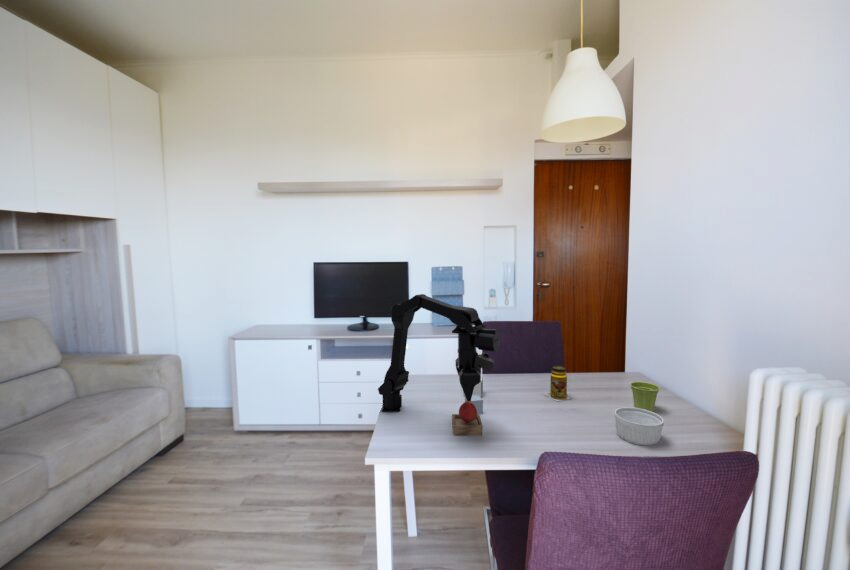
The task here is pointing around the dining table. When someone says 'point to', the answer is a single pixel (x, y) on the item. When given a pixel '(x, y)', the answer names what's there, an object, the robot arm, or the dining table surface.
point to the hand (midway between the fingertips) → (467, 395)
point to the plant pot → (644, 395)
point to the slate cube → (477, 403)
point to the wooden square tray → (467, 426)
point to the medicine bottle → (478, 385)
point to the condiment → (558, 384)
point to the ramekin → (638, 425)
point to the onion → (467, 412)
